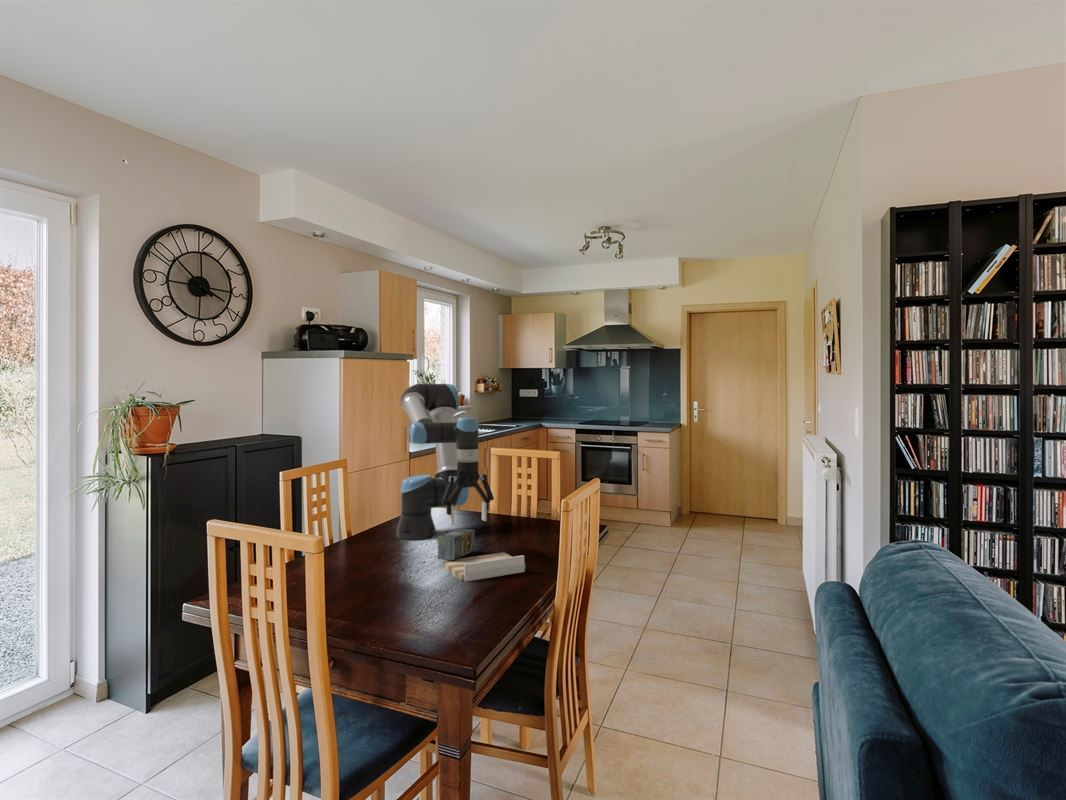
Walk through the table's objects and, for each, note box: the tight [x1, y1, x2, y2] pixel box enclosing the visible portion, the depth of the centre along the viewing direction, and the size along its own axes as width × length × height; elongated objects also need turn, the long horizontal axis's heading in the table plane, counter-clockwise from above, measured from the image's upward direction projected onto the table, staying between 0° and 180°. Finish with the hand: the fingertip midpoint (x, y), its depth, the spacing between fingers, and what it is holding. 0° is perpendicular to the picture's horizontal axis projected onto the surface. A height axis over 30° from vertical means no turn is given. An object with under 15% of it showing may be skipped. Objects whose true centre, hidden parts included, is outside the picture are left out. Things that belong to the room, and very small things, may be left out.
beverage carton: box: [437, 528, 476, 561], centre depth 188 cm, size 8×19×7 cm
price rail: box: [464, 555, 525, 583], centre depth 170 cm, size 1×20×5 cm, turn 119°
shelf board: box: [442, 552, 527, 582], centre depth 177 cm, size 16×22×2 cm
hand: (468, 522), depth 195 cm, fingers open, 12 cm apart
